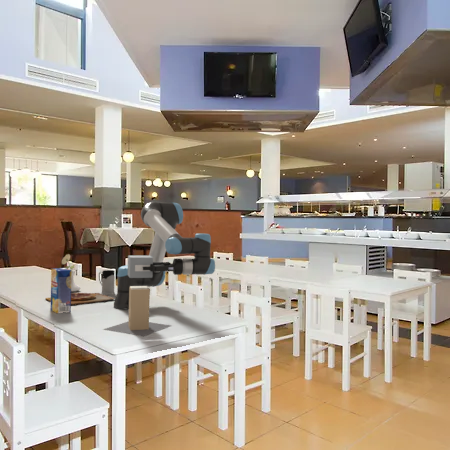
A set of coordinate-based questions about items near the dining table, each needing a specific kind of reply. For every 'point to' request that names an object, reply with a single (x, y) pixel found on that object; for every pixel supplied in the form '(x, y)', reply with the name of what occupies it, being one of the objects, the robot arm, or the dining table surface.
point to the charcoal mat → (125, 329)
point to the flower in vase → (73, 285)
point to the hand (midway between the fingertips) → (133, 266)
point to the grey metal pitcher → (107, 282)
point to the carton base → (139, 307)
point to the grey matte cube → (139, 261)
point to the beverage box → (61, 290)
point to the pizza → (87, 298)
